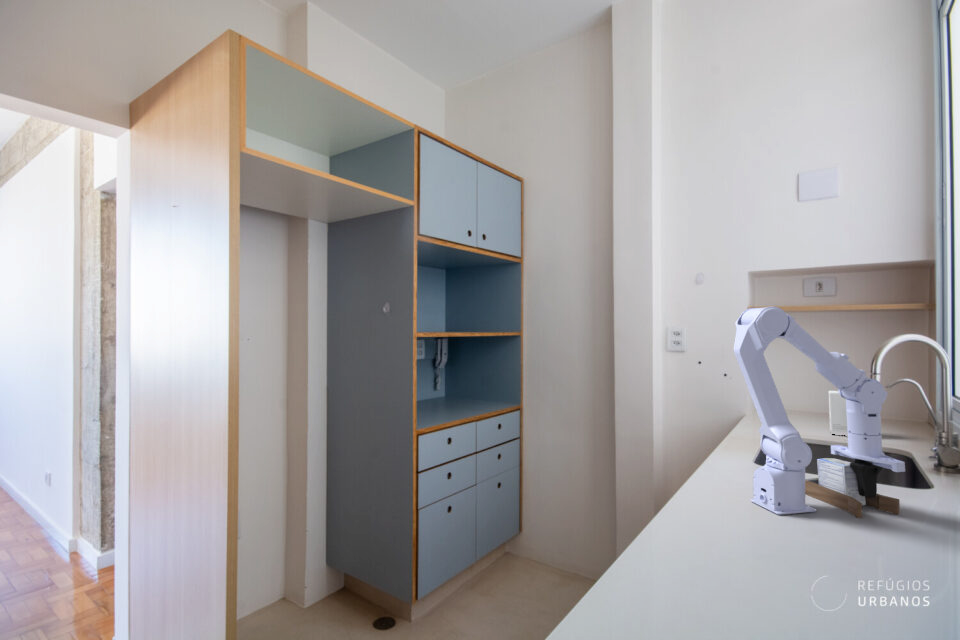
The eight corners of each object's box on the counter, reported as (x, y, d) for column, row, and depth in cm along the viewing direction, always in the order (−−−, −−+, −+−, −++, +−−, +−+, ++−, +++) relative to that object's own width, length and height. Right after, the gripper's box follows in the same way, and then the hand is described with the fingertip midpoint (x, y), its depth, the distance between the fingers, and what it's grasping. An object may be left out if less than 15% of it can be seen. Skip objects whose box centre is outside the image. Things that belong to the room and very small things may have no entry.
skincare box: (857, 434, 169) (856, 391, 169) (860, 438, 163) (859, 393, 163) (828, 431, 173) (828, 389, 173) (830, 435, 168) (829, 391, 168)
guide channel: (858, 518, 96) (858, 503, 96) (795, 492, 111) (795, 479, 111) (901, 514, 98) (901, 499, 98) (834, 489, 113) (834, 476, 113)
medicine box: (866, 506, 101) (863, 464, 102) (846, 506, 101) (843, 465, 102) (837, 496, 109) (834, 457, 110) (818, 496, 109) (816, 458, 109)
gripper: (916, 438, 94) (919, 506, 94) (847, 424, 109) (850, 483, 108) (887, 441, 93) (890, 510, 93) (821, 426, 107) (824, 486, 107)
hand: (867, 496), depth 101 cm, fingers closed, pressing on medicine box
